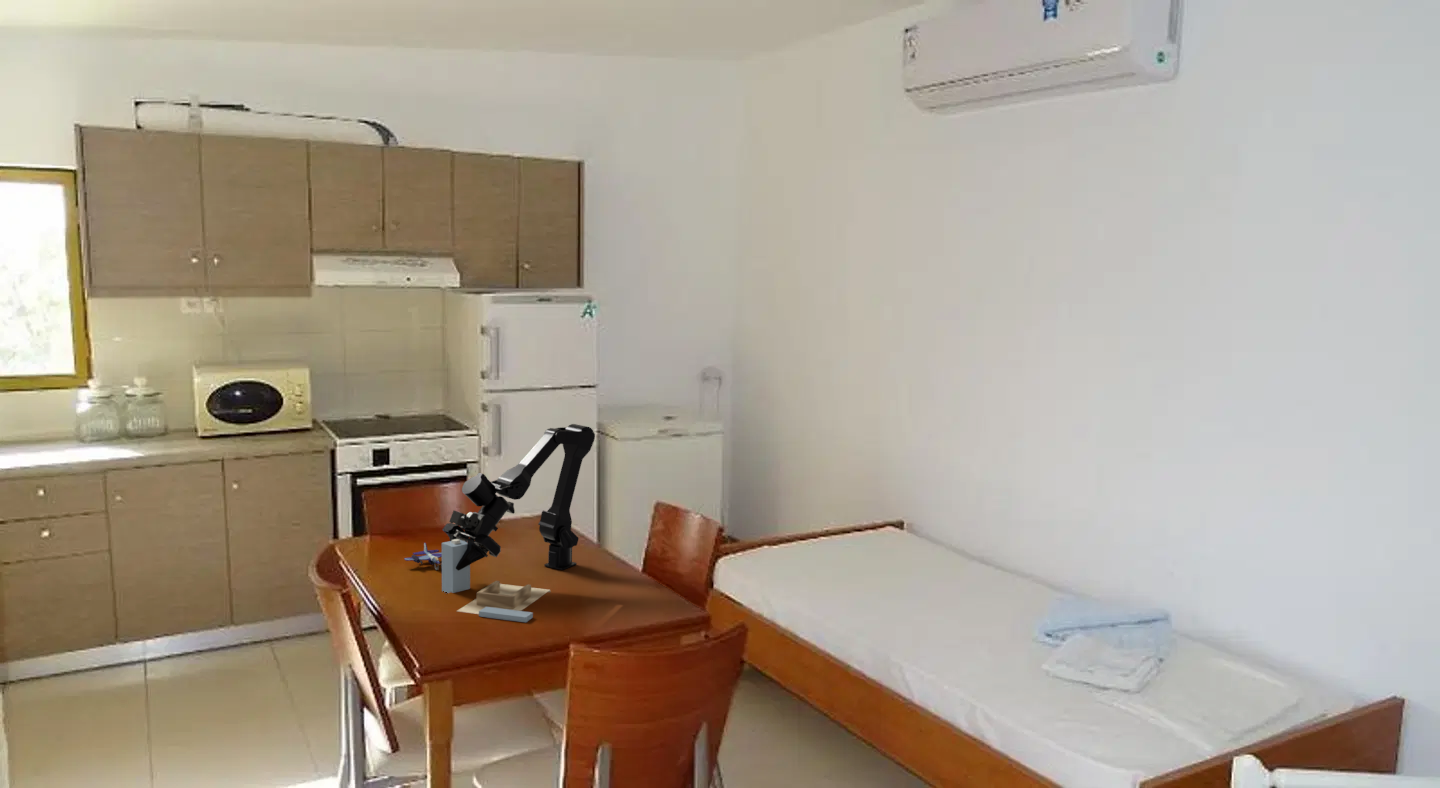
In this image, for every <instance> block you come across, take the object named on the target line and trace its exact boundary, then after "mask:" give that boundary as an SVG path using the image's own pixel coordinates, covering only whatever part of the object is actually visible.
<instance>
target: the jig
mask: <svg viewBox="0 0 1440 788" xmlns="http://www.w3.org/2000/svg"><path fill="white" fill-rule="evenodd" d="M547 593H551V589H546V588H539V587H538V588H537V587H532V584H529V583H528V584H525V585H524V586H521V585H513V584H507V583H506V584H503V583H501V581H500V580H495V581H493V582H491V583H490V584H488V585H487V586H485V587H483V588H482V589H480V590H479V591H477V592H476V598H474V600H472V601H470V602H469V603H467V604H466V605H463V606H462V607H461V608H459V609H457V610H456V612H459V613H467V614H472V615H473V614H475V615H479V611H480V610H482V609H483V608H485V607H493V608H501V609H509V610H516V611H524V609H526V608H527V607H529V606H530V605H532V604H533V603H534V602H536V601H537V600H539V599H540V598H541V597H543V596H544V595H545V594H547Z"/></svg>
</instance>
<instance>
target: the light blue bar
mask: <svg viewBox="0 0 1440 788" xmlns="http://www.w3.org/2000/svg"><path fill="white" fill-rule="evenodd" d="M533 616H534V612H531V611H524V610H522V611H516V610H509V609H501V608H493V607H485V608H483V609H482V610H480V611H479V614H478V617H483V618H488V619H497V620H502V621H503V620H504V621H511V622H520V623H528V622H529V621H530V620H531V619H533V618H534V617H533Z"/></svg>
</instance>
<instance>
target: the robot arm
mask: <svg viewBox="0 0 1440 788" xmlns="http://www.w3.org/2000/svg"><path fill="white" fill-rule="evenodd" d="M595 438H596V434H595V432H594V430H593V429H592V427H590V426H586V425H581V424H577V423H571V424H569V425H568V426H566V427H564V426H562V427H556V428H554V427H550V428H547V429H546V430H545V431H544V432H543V436H541V438H540V439H539V440H538V441H537V442H536V443H535V445H534V446H533V447H532V448H531V449H530V450H529V451H528V453H527V454H526V455H525V456H524V457H523V458H522V459H521V460H520V461H519V462H518V464H516V465H515V466H513V467H512V468H509V469H507V470H506V471H505V472H503V473H502V474H501V475H500V476H499V477H497V479H494V480H492V481H490V479H489V478H487V476H486V474H484V473H481V472H478V473H477V474H476V475H475V476H472V477H470V478H469V479H468V480H466V481H464V483H463V484H462V486H461V492H462V494H464V495H465V496H466V497H467V498H468V499H469V500H470V501H471V502H472V503H473V504H474V505H475V506H477V507H480V509H479V510H478V511H477V512H476V511H474V512H472V511H469V512H468V513H467V514H466V513H463V512H460V511H457V510H453V511H452V513H451V516H450V518H449V522H447V523H446V524H445V525H444V526H443V528H442V531H443V532H444V533H445V534H446V535H447V536H448V538H449V541H451V540H454V539H459V540H462V541H465V542H467V550H466V552H465V553H464V555H463V556H462V558H461V559H460V561H459V563H458V564H457V566H456V569H457V570H458V571H459V570H461V569H463V568H465V567H466V566H468V565H470V566H471V565H472V564H474V563H475V562H478V561H480V560H482V559H484V558H488V557H489V555H490V556H492V557H494V558H497V557H498V556H499V554H500V553H501V551H502V549H501V545H500V544H499V543H498V542H496V541H495V540H494V538H492V537H491V536H490V534H491V533H492V532H497V531H498V529H499V527H497V525H498V523H499V522H500V520H501V519H502V518H503V517H504V516H505V514H506V513H510V514H516V513H515V511H516V510H515V507H514V505H515V503H514V502H512V501H508V500H507V499H510V500H511V499H512V500H520V499H522V498H523V497H524V496H525V494H526V493H527V491H528V489H529V488H530V487H531V482H532V478H533V477H534V476H535V474H536V472H537V471H538V470H539V469H540V468H541V467H542V466H543V465H544V464H545V462H546V461H547V460H549V457H550V456H551V455H552V454H553V453H554V451H555V450H556V449H557V448H558V447H559V446H560V445H562V447H563V452H564V457H563V461H562V465H561V469H560V472H559V476H558V480H557V484H556V489H555V492H554V494H553V495H554V496H553V500H552V504H551V506H550V507H549V509H547V511H546V510H542V511H541V515H540V520H539V522H538V524H537V525H538V526H539V528H538V529H539V530H538V531H539V533H540V534H541V536H542V538H543V541H544V542H545V543H548V544H549V545H548V553H547V554H548V558H547V559H548V561H547V563H545V564H544V567H547V568H551V569H554V570H555V569H556V570H561V571H562V570H563V571H564V570H566V569H569V568H571V567H574V566H576V565H577V562H575V561H573V547H577V545H578V542H579V539H580V538H579V537H578V536H577V535H576V534H575V533H574V532H573V531H572V523H573V521H572V520H573V519H572V515H571V512H570V510H571V506H572V501H573V497H574V494H575V489H576V486H577V483H578V479H579V474H580V471H581V466H582V462H583V459H584V458H585V457H586V456H587V455H588V454H589V453H590V451H591V449H592V447H593V445H594V442H595ZM497 494H498V495H499V496H498V495H497ZM506 498H507V499H506Z"/></svg>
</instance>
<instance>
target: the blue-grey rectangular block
mask: <svg viewBox="0 0 1440 788" xmlns="http://www.w3.org/2000/svg"><path fill="white" fill-rule="evenodd" d="M467 543H468V541H467V542H465V541H462V540H459V539H454V540H451V541H450V540H449V541H444V542H441V552H442V557H441V592H443V591H444V592H443V593H445V592H447V593H448V594H450V593H452V594H454V593H455V594H456V593H459V592H463V591H466V590H470V589H471V564H470V565H468V566H466V567H465V568H463V569H461V570H459V571H458V570H457V569H456V566H457V564H458V563H459V561H460V559H461V558H462V556H463V555H464V553H465V552H466V550H467ZM447 593H446V594H447Z"/></svg>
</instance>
